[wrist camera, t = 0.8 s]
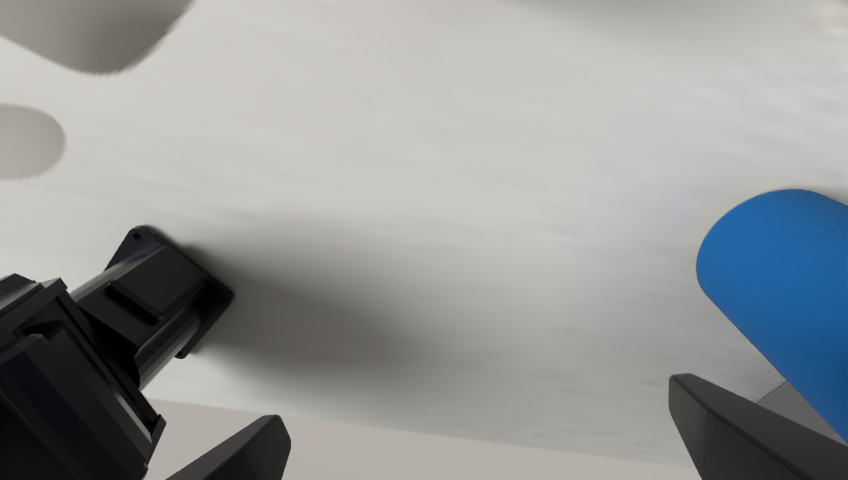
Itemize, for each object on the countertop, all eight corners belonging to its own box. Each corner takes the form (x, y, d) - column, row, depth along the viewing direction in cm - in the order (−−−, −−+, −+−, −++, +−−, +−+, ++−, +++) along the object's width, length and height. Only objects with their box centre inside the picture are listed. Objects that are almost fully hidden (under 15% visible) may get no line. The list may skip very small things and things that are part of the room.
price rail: (761, 423, 25) (803, 477, 22) (744, 412, 25) (783, 466, 22) (872, 344, 22) (938, 393, 19) (853, 331, 22) (917, 379, 19)
